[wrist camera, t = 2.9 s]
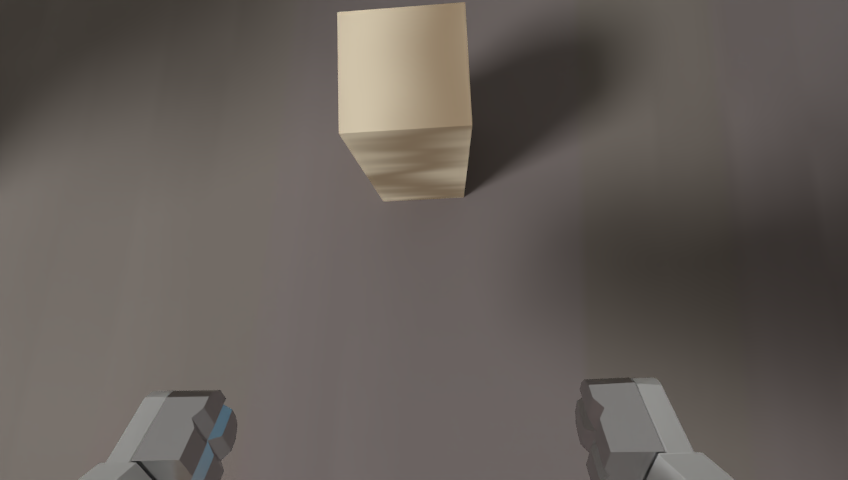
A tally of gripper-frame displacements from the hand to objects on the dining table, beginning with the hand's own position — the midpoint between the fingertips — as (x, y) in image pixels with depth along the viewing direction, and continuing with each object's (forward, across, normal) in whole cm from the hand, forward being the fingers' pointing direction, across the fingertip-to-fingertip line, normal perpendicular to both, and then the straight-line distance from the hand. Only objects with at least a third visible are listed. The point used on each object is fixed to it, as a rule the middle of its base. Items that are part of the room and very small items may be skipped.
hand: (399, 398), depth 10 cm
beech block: (+17, 0, +2) cm, 17 cm away
